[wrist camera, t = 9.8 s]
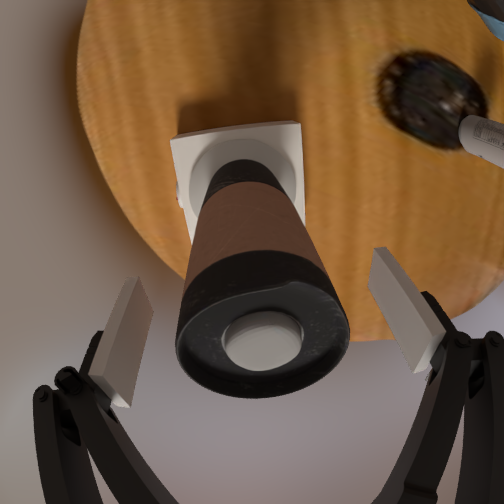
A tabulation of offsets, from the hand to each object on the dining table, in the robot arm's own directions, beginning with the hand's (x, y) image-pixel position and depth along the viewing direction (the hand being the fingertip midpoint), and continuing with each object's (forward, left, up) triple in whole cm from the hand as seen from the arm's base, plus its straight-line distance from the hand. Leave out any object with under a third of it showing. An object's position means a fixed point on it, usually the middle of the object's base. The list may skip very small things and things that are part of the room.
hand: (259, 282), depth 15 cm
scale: (0, 0, -20) cm, 20 cm away
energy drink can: (-6, +34, -20) cm, 40 cm away
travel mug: (0, 0, -15) cm, 15 cm away
